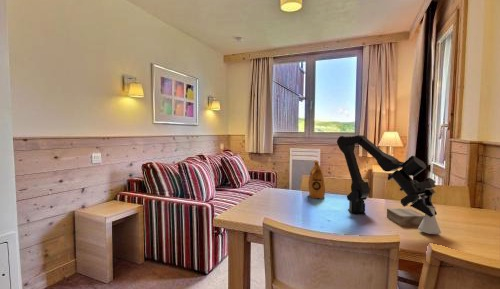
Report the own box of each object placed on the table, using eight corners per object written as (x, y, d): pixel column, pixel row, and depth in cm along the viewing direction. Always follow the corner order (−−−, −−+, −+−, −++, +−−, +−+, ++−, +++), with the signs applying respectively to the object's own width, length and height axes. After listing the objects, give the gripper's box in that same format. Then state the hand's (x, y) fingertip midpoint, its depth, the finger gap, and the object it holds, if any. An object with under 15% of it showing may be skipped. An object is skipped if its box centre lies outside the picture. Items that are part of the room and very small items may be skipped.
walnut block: (400, 225, 113) (400, 216, 112) (386, 216, 124) (387, 208, 123) (425, 225, 113) (425, 216, 112) (409, 216, 124) (410, 208, 123)
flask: (414, 228, 107) (415, 204, 106) (430, 227, 108) (431, 204, 107) (428, 235, 100) (429, 209, 99) (445, 234, 101) (446, 209, 100)
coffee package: (307, 198, 157) (308, 162, 155) (308, 193, 169) (309, 159, 167) (324, 199, 154) (325, 162, 153) (324, 194, 166) (325, 160, 165)
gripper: (410, 173, 100) (442, 209, 92) (431, 169, 111) (461, 201, 102) (388, 189, 107) (416, 224, 99) (410, 184, 118) (437, 215, 109)
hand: (434, 215), depth 102 cm, fingers closed on flask, 3 cm apart
